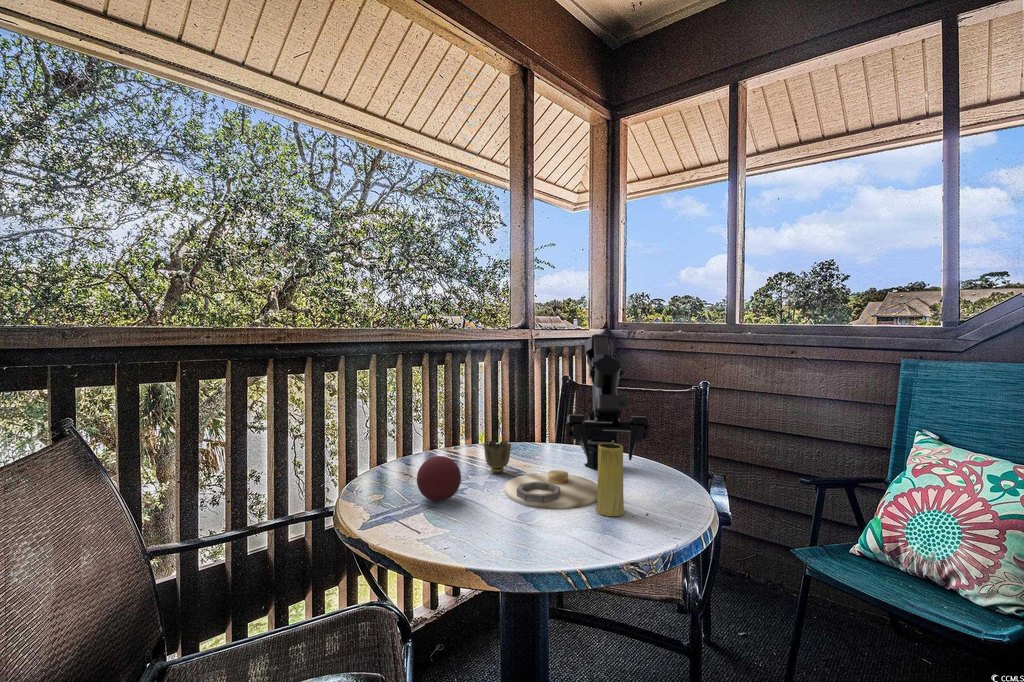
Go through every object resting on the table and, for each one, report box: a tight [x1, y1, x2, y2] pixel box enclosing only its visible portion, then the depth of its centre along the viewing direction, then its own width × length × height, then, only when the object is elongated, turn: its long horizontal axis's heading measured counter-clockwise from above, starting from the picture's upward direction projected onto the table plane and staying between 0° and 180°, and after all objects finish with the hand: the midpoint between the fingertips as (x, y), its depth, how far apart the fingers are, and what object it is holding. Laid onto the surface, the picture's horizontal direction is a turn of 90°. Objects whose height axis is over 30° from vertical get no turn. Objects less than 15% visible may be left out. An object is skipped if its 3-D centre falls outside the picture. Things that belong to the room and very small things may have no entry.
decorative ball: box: [416, 455, 462, 502], centre depth 108 cm, size 10×10×10 cm
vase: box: [595, 443, 625, 517], centre depth 102 cm, size 6×6×14 cm
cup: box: [483, 440, 512, 475], centre depth 130 cm, size 8×7×8 cm
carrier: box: [504, 469, 598, 510], centre depth 115 cm, size 23×23×3 cm
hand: (609, 458), depth 105 cm, fingers open, 9 cm apart
